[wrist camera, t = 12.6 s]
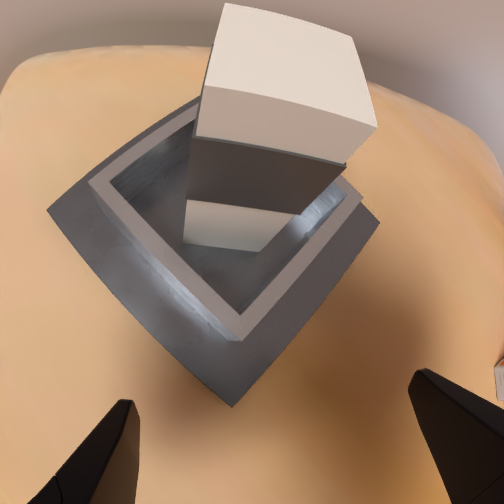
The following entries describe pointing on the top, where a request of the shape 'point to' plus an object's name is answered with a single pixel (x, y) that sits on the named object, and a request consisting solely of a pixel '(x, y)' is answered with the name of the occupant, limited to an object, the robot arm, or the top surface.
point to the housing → (206, 259)
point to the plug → (271, 126)
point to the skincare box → (499, 380)
